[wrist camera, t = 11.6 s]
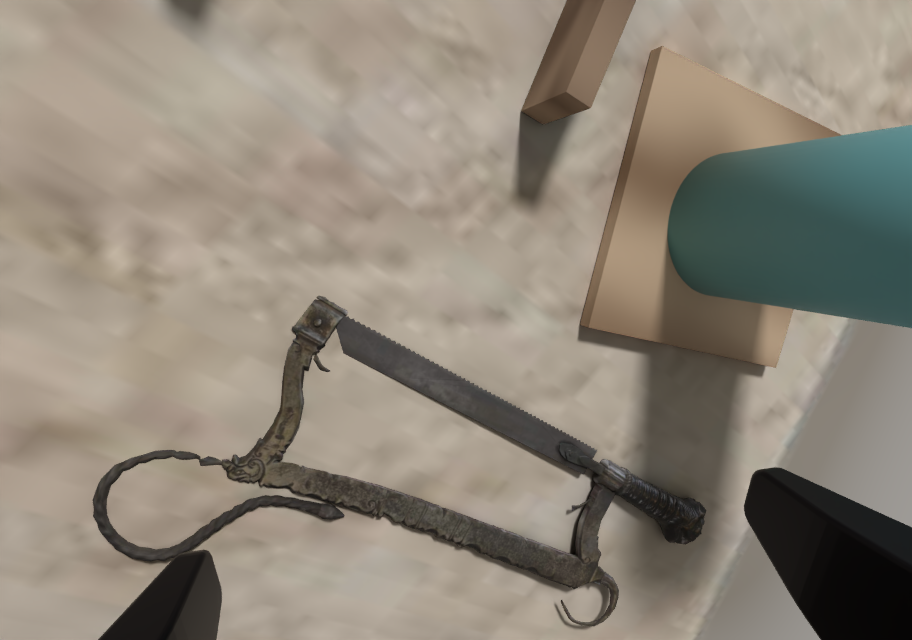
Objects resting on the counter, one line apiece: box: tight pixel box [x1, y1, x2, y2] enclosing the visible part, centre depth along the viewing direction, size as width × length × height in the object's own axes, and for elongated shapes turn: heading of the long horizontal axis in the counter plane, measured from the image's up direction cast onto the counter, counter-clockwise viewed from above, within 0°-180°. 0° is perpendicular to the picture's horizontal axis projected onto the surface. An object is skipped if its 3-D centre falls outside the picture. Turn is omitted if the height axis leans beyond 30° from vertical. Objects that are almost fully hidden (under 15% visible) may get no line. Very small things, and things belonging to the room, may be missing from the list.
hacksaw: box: [93, 296, 706, 626], centre depth 21 cm, size 24×10×2 cm, turn 58°
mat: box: [580, 46, 842, 368], centre depth 23 cm, size 11×11×1 cm
